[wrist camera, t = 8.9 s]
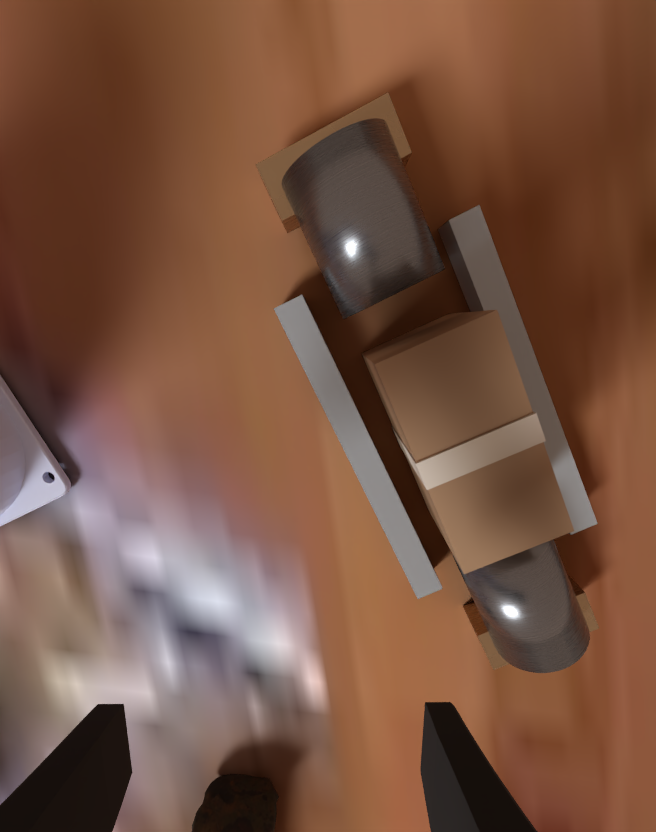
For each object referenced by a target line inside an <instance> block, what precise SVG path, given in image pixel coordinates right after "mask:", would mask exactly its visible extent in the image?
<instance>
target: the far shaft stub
mask: <svg viewBox="0 0 656 832" xmlns="http://www.w3.org/2000/svg"><path fill="white" fill-rule="evenodd" d="M453 557H454V555H453ZM454 559H455V557H454ZM455 562H456V564H457V566H458V568H459V570H460V572H461V574H462V577H463V579H464V581H465V583H466V585H467V587H468V590H469V592H470V594H471V596H472V598H473V600H474V602H472V603H469V604H467V605H464V606H463V607H464V609H465V611H466V614H467V616H468V618H469V620H470V622H471V624H472V626H473V628H474V631H475V633H476V635H477V637H478V639H479V641H480V643H481V645H482V647H483V649H484V651H485V653H486V656H487V658H488V660H489V662H490V664H491V666H492V668H493V670H495V669H498V668H500V667H503V666H505V665H508V664H511V665H513V666H515V667H517V668H519V669H522V670H525V671H529V672H535V673H549V672H555V671H559V670H562V669H565V668H567V667H569V666H571V665H572V664H574V663H575V662H576V661H578V660H579V659H580V658H581V657H582V656H583V654H584V653H585V651H586V649H587V647H588V644H589V640H590V633H589V632H591V631H594V630H596V629H599V627H598V624H597V622H596V619H595V616H594V614H593V611H592V609H591V606H590V604H589V601H588V599H587V596H586V594H585V592H584V591H583V590H582V589H581V588H580V587H579V586H578V585H577V584H576V583H575V582H574V581H573V580H572V578H571V577H570V576H569V575H568V574H567V572H566V570H565V567H564V565H563V562H562V560H561V557H560V555H559V552H558V550H557V547H556V545H555V542H554V540H550V541H548V542H545V543H542V544H540V545H537V546H535V547H532V548H530V549H527V550H525V551H522V552H520V553H517V554H515V555H512V556H509V557H507V558H504V559H502V560H499V561H497V562H494V563H492V564H489V565H487V566H484V567H482V568H479V569H476V570H474V571H471V572H469V573H466V574H464V573H463V572H462V570H461V568H460V566H459V564H458V563H457V561H456V559H455Z"/></svg>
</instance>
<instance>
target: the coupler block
mask: <svg viewBox="0 0 656 832" xmlns="http://www.w3.org/2000/svg"><path fill="white" fill-rule="evenodd" d="M361 354H362V356H363V359H364V361H365V363H366V366H367V368H368V370H369V373H370V375H371V377H372V380H373V382H374V384H375V387H376V389H377V391H378V394H379V396H380V398H381V401H382V403H383V405H384V408H385V410H386V412H387V414H388V417H389V419H390V421H391V424H392V426H391V427H392V429H393V431H394V434H395V436H396V438H397V441H398V443H399V445H400V447H401V449H402V450H403V452H404V454H405V456H406V459H407V461H408V463H409V466H410V468H411V470H412V473H413V475H414V477H415V480H416V482H417V484H418V487H419V489H420V491H421V494H422V496H423V498H424V501H425V503H426V505H427V508H428V510H429V512H430V514H431V516H432V517H433V519H434V521H435V523H436V525H437V527H438V528H439V530H440V532H441V534H442V536H443V537H444V539H445V541H446V543H447V545H448V546H449V548H450V550H451V552H452V554H453V555H454V557H455V559H456V561H457V563H458V564H459V566H460V568H461V570H462V572H463V573H464V574H466V573H469V572H471V571H474V570H476V569H479V568H482V567H484V566H487V565H489V564H492V563H494V562H497V561H499V560H502V559H504V558H507V557H509V556H512V555H515V554H517V553H520V552H522V551H525V550H527V549H530V548H532V547H535V546H537V545H540V544H542V543H545V542H548V541H550V540H553V539H555V538H558V537H560V536H563V535H565V534H568V533H570V532H573V531H574V528H573V525H572V522H571V520H570V517H569V514H568V511H567V508H566V505H565V502H564V499H563V497H562V494H561V491H560V488H559V485H558V482H557V479H556V477H555V474H554V471H553V468H552V465H551V462H550V459H549V457H548V454H547V451H546V448H545V445H544V442H545V441H546V439H545V436H544V434H543V431H542V428H541V425H540V422H539V419H538V416H537V413H535V412H533V411H532V408H531V405H530V402H529V399H528V396H527V394H526V391H525V388H524V385H523V382H522V379H521V376H520V373H519V371H518V368H517V365H516V362H515V359H514V356H513V353H512V351H511V348H510V345H509V342H508V339H507V336H506V333H505V331H504V328H503V325H502V322H501V319H500V316H499V313H498V311H497V310H487V311H475V312H463V313H452V314H447V315H445V316H443V317H440V318H438V319H436V320H434V321H432V322H429V323H427V324H425V325H423V326H421V327H418V328H416V329H414V330H412V331H410V332H407V333H405V334H403V335H401V336H398V337H396V338H394V339H392V340H390V341H387V342H385V343H383V344H381V345H379V346H376V347H374V348H372V349H370V350H367V351H365V352H363V353H361Z"/></svg>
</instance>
